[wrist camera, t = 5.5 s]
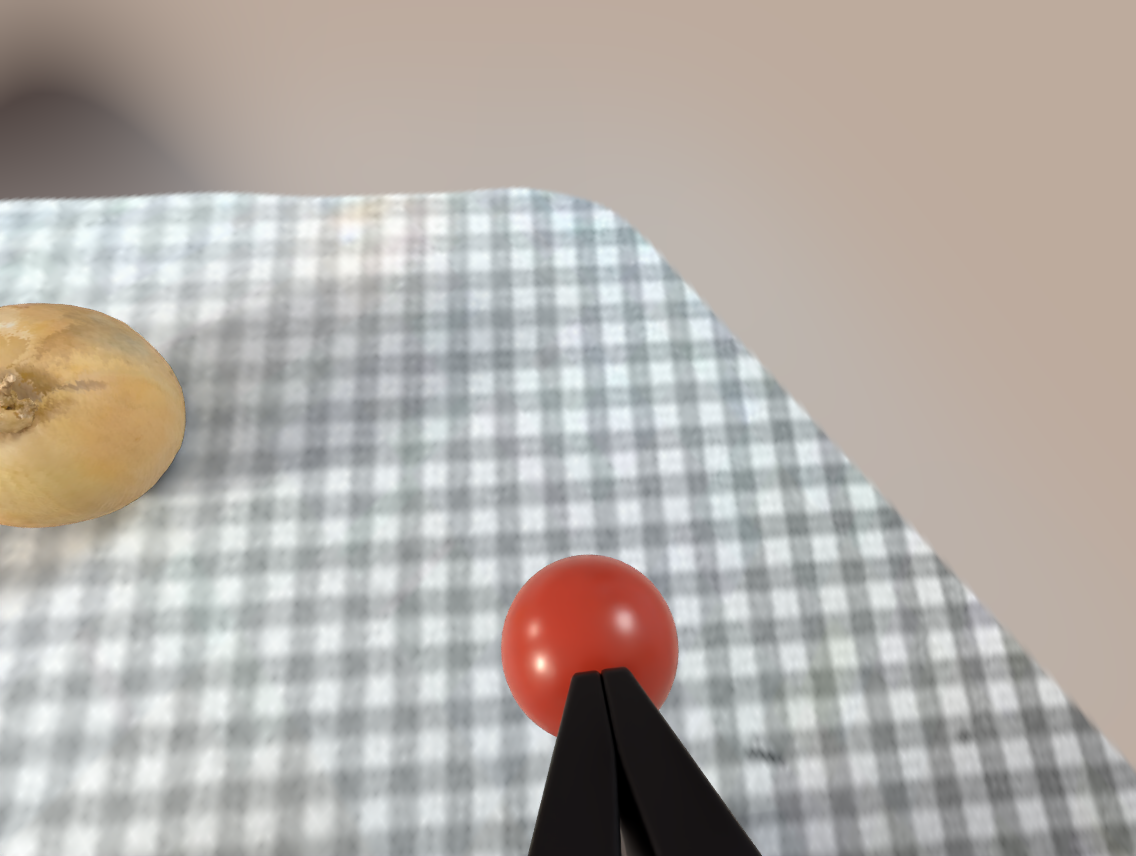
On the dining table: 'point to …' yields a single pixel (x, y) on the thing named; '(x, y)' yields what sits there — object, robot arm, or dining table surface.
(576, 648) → the lever
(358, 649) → the dining table surface
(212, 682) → the dining table surface
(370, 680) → the dining table surface
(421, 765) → the dining table surface
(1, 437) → the onion
